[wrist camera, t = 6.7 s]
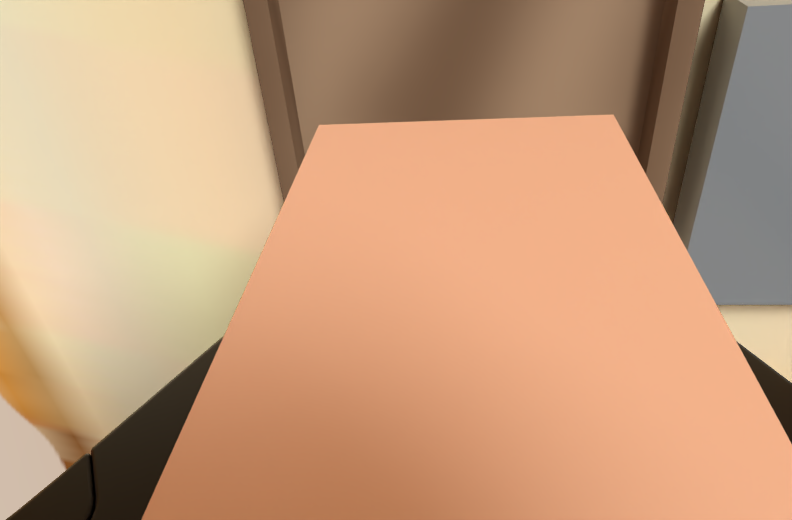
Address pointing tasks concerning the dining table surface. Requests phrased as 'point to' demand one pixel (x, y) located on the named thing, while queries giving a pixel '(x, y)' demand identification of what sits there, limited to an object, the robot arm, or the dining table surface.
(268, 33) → the walnut tray
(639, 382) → the letter block
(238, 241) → the dining table surface
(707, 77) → the slate tile
